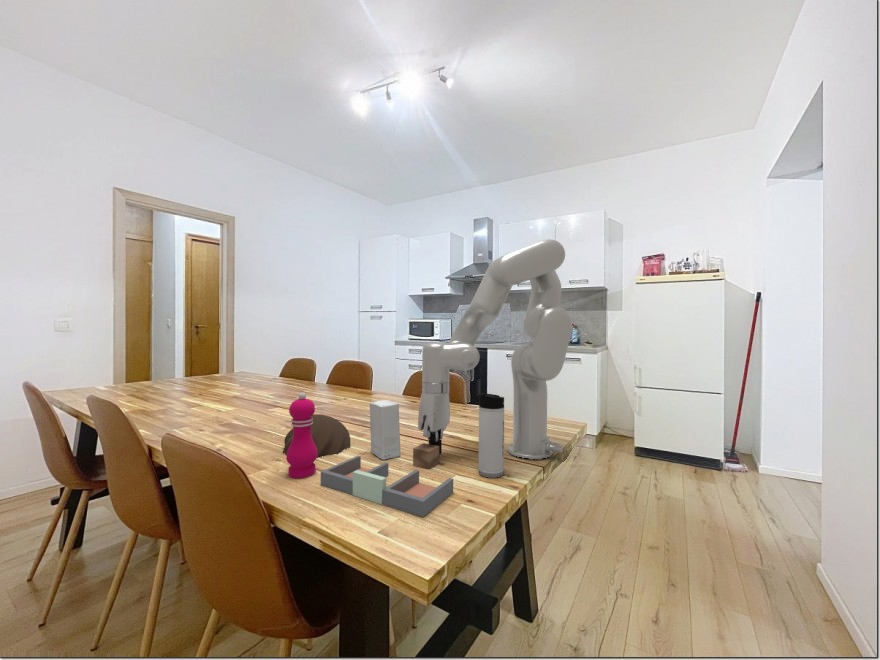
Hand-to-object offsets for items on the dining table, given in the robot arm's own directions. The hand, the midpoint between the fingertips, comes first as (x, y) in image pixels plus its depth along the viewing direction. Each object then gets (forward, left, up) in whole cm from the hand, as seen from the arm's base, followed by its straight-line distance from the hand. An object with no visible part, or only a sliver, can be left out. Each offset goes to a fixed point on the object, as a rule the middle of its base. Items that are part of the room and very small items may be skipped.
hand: (435, 453), depth 101 cm
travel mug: (-17, +2, -1) cm, 17 cm away
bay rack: (0, +22, -1) cm, 22 cm away
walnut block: (0, +5, -1) cm, 5 cm away
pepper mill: (+23, +26, -1) cm, 34 cm away
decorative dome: (+35, +10, -2) cm, 37 cm away
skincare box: (+14, +5, -2) cm, 15 cm away
